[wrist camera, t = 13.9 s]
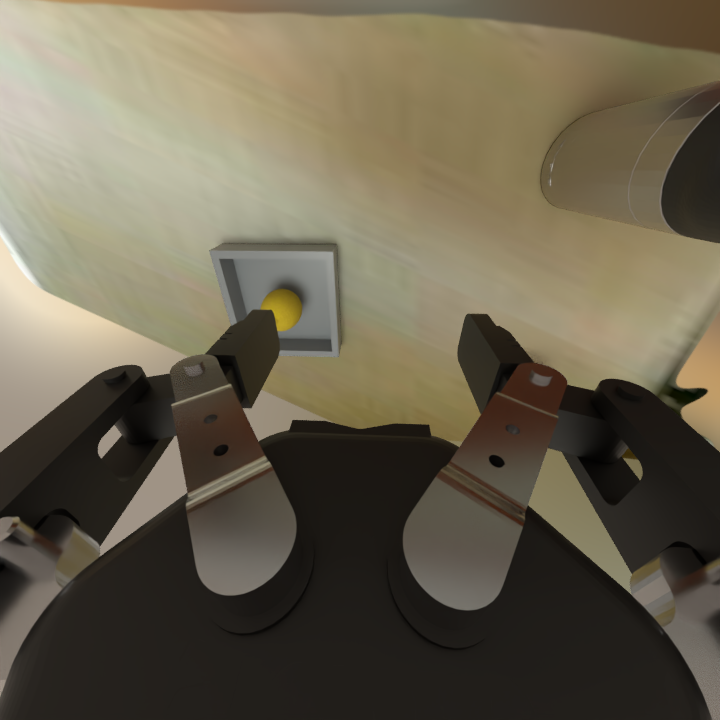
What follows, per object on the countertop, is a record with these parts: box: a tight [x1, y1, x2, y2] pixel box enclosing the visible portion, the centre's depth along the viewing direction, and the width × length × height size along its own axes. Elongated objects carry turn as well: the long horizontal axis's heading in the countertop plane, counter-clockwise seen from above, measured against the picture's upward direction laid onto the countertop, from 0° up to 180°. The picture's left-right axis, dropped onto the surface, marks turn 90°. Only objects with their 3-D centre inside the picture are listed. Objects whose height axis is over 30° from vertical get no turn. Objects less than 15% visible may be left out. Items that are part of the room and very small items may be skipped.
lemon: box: [260, 289, 302, 331], centre depth 40 cm, size 6×6×8 cm
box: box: [209, 244, 341, 357], centre depth 42 cm, size 16×16×4 cm
